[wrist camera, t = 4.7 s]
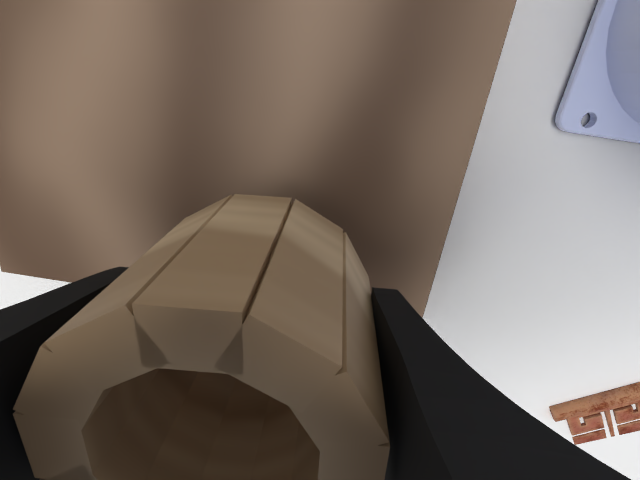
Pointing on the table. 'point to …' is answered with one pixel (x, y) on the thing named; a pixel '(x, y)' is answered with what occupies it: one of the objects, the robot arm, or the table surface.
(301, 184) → the fabric cloth
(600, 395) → the key
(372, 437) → the bead
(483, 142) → the table surface
